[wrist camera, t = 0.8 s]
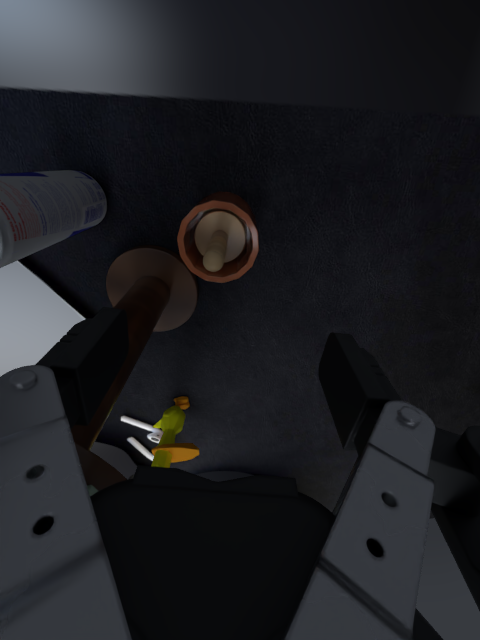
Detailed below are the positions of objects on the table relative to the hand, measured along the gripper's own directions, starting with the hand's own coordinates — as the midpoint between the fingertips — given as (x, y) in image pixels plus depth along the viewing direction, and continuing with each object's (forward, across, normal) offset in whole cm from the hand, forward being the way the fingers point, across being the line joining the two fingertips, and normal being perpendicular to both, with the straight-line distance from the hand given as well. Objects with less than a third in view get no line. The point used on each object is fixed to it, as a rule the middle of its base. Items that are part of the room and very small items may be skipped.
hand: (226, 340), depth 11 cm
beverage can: (+21, +15, -1) cm, 26 cm away
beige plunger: (+20, +1, 0) cm, 20 cm away
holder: (+21, +1, 0) cm, 21 cm away
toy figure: (+21, +5, +25) cm, 33 cm away
